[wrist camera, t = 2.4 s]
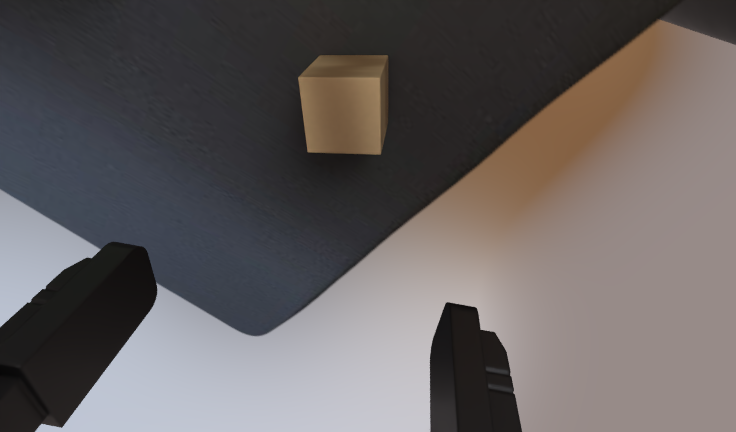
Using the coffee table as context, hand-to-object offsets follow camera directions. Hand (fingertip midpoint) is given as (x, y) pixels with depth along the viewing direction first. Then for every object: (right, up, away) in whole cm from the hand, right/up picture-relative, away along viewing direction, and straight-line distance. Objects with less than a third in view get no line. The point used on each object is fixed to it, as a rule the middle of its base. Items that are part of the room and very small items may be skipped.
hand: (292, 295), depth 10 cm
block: (+1, +10, +15) cm, 19 cm away
